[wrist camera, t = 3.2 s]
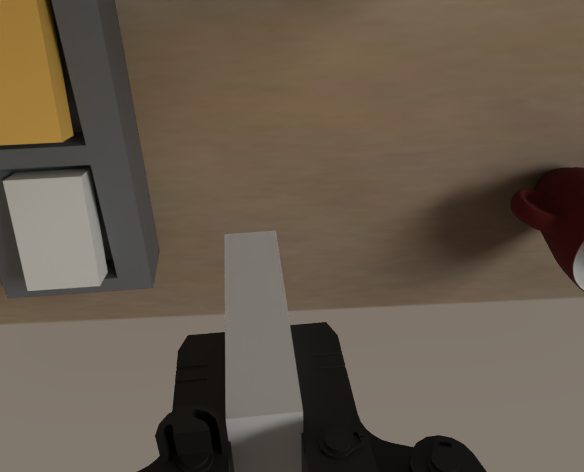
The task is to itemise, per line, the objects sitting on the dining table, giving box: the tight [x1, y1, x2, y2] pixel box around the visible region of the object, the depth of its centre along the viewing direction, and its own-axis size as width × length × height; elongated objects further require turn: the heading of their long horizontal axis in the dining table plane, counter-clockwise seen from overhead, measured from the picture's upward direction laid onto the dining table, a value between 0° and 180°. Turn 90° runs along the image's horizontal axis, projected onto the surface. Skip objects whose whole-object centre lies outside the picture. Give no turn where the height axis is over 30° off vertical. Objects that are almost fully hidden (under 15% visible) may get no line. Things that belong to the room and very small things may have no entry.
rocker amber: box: [0, 0, 73, 145], centre depth 32 cm, size 8×5×2 cm, turn 1°
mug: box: [510, 167, 584, 291], centre depth 43 cm, size 11×8×10 cm
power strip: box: [0, 0, 159, 298], centre depth 34 cm, size 38×11×5 cm, turn 1°
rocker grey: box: [3, 168, 108, 291], centre depth 38 cm, size 8×5×2 cm, turn 1°
